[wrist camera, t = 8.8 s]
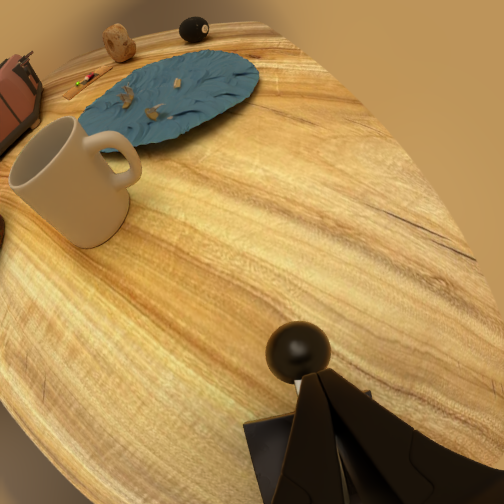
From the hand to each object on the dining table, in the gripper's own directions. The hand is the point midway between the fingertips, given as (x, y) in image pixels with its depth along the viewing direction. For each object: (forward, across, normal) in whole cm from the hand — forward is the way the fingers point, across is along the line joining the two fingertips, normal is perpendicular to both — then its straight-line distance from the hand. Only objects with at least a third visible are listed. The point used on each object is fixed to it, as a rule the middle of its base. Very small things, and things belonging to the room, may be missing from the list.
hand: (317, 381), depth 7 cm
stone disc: (+55, +19, -37) cm, 69 cm away
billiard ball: (+52, +2, -35) cm, 63 cm away
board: (+53, +28, -35) cm, 69 cm away
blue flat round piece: (+37, +9, -19) cm, 42 cm away
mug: (+23, +15, -5) cm, 28 cm away
